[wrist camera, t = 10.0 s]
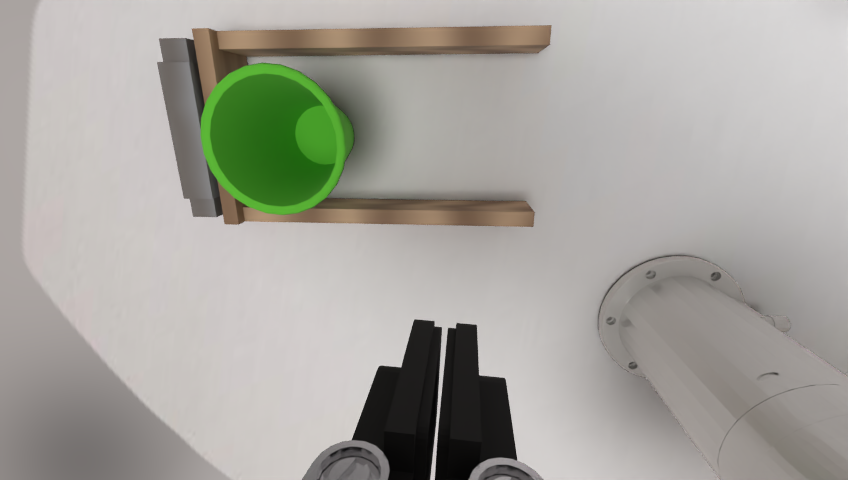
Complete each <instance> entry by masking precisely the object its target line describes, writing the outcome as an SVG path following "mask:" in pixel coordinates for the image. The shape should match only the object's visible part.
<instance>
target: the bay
mask: <svg viewBox="0 0 848 480" xmlns="http://www.w3.org/2000/svg"><path fill="white" fill-rule="evenodd" d="M192 32H193V38H194V40H190V39H187V38H165V39H159V41H160V46H161V52H162V57H163V62H157V64H158V69H159V74H160V79H161V85H162V90H163V95H164V100H165V105H166V110H167V115H168V120H169V125H170V130H171V135H172V140H173V145H174V150H175V155H176V160H177V166H178V171H179V176H180V181H181V186H182V191H183V196H184V198H186V199H190V202H191V207H192V212H193V217H218V216H220V215H222V214H223V217H224V223H225V224H241V223H243V222H244V221H259V222H311V223H364V224H416V225H468V226H520V227H533V224H534V213H535V212H534V211H533V210H532V208H531V207H530V206H529V205H528V203H527V202H526V201H472V200H404V199H336V198H325V199H324V200H323V201H321V202H320V203H319V204H317V205H316V206H315V207H313V208H311V209H308V210H306V211H303V212H301V213H296V214H288V215H277V214H268V213H264V212H261V211H258V210H256V209H253V208H250V207H248V206H247V205H245V204H243V203H242V202H240V201H239V200H237V199H235V198H234V197H233V196H232V195H231V194H230V193H229V192H228V191H227V190H225V189H224V188H223V187H222V186H221V184H220V183H219V182H218V180H217V179H216V177H215V176H214V174H213V173H212V171H211V170H210V167H209V165H208V163H207V160H206V158H205V155H204V152H203V147H202V142H201V136H200V134H201V117H202V114H203V110H204V107H205V103H206V101H207V99H208V97H209V96H210V94H211V93H212V91H213V89H214V88H215V86H216V85H217V84H218V83H219V82H220V81H221V80H222V79H223V78H225V77H226V76H227V75H228V74H229V73H231V72H233V71H235V70H237V69H239V68H241V67H243V66H246V65H248V64H247V57H254V56H336V55H418V54H500V53H539V52H540V51H542V50H543V49H544V48H546V47H547V46H549V45H550V35H551V25H547V26H488V27H430V28H371V29H313V30H254V31H214V30H212V29H209V28H200V29H192Z"/></svg>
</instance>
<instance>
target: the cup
mask: <svg viewBox="0 0 848 480" xmlns="http://www.w3.org/2000/svg"><path fill="white" fill-rule="evenodd" d="M200 136H201V142H202V147H203V152H204V155H205V158H206V160H207V163H208V165H209V167H210V170H211V171H212V173H213V174H214V176H215V177H216V179H217V180H218V182H219V183H220V184H221V186H222V187H223V188H224V189H225V190H227V191H228V192H229V193H230V194H231V195H232V196H233V197H234V198H235V199H237V200H239V201H240V202H242V203H243V204H245V205H247V206H248V207H250V208H253V209H256V210H258V211H261V212H264V213H268V214H277V215H288V214H296V213H301V212H303V211H306V210H308V209H311V208H313V207H315V206H316V205H317V204H319V203H320V202H321V201H323V200H324V199H325V198H327V197H328V195H329V194H330V193H331V191H332V190H333V189H334V188H335V186H336V185H337V183H338V181H339V178H340V176H341V174H342V171H343V169H344V163H345V160H346V159H347V157H348V156H349V154H350V152H351V150H352V147H353V143H354V131H353V128H352V125H351V122H350V121H349V119H348V117H347V116H346V115H345V114H344V113H343V112H342V111H341V110H340V109H339V108H337V107H336V106H335V105H334V104H333V103H332V101H331V99H330V98H329V96H328V95H327V94H326V93H325V92H324V91H323V90H322V89H321V88H320V87H319V86H318V85H317V83H316V82H314V81H313V80H311V79H310V78H308V77H307V76H305V75H304V74H302V73H301V72H299V71H297V70H294V69H292V68H289V67H286V66H284V65H280V64H270V63H258V64H252V65H246V66H243V67H241V68H239V69H237V70H235V71H233V72H231V73H229V74H228V75H227V76H226V77H225V78H223V79H222V80H221V81H220V82H219V83H218V84H217V85H216V86H215V88H214V89H213V91H212V93H211V94H210V96H209V97H208V99H207V101H206V103H205V107H204V110H203V114H202V117H201V134H200Z"/></svg>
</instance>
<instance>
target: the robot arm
mask: <svg viewBox="0 0 848 480" xmlns="http://www.w3.org/2000/svg"><path fill="white" fill-rule="evenodd" d="M598 321H599V333H600V337H601V341H602V343H603V345H604V347H605V349H606V350H607V352H608V353H609V354H610V356H611V357H612V359H613V360H614V361H615V362H616V363H617V364H618V365H619V366H621V367H622V368H624V369H625V370H627V371H628V372H631V373H633V374H636V375H638V376H641V377H645V378H647V379H648V381H649V382H650V383H651V385H652V386H653V388H654V389H655V390H656V392H657V393H658V394H659V396H660V397H661V399H662V400H663V401H664V403H665V404H666V406H667V407H668V408H669V410H670V411H671V412H672V414H673V415H674V417H675V418H676V419H677V421H678V422H679V424H680V425H681V426H682V428H683V429H684V430H685V432H686V433H687V435H688V436H689V437H690V439H691V440H692V442H693V443H694V444H695V446H696V447H697V448H698V450H699V451H700V453H701V454H702V455H703V457H704V458H705V460H706V461H707V462H708V464H709V465H710V466H711V468H712V469H713V471H714V472H715V473H716V475H717V476H718V478H719V479H720V480H848V376H847V375H845V374H844V373H842V372H841V371H839V370H838V369H836V368H835V367H833V366H832V365H830V364H829V363H827V362H826V361H824V360H823V359H821V358H820V357H818V356H817V355H815V354H814V353H812V352H811V351H809V350H808V349H806V348H805V347H803V346H802V345H800V344H799V343H797V342H796V341H794V340H793V339H791V338H790V337H788V336H787V335H785V334H784V333H782V332H787V331H789V329H790V321H789V319H788V318H787V317H785V316H772V315H767V316H763V315H761V314H760V313H758V312H757V311H755V310H754V309H752V308H751V307H749V306H747V305H746V304H745V300H744V297H743V294H742V292H741V289H740V287H739V286H738V284H737V283H736V282H735V280H734V279H733V278H732V277H731V276H730V275H729V274H728V273H726V272H725V271H724V270H722V269H721V268H719V267H717V266H716V265H714V264H712V263H710V262H707V261H705V260H702V259H699V258H694V257H689V256H670V257H663V258H658V259H655V260H652V261H649V262H646V263H644V264H642V265H640V266H638V267H636V268H634V269H632V270H631V271H629V272H628V273H627V274H625V275H624V276H622V277H621V278H620V279H619V280H618V281H617V282H616V283H615V284H614V285H613V287H612V288H611V290H610V291H609V292H608V294H607V295H606V297H605V299H604V301H603V304H602V306H601V309H600V314H599V319H598ZM441 335H442V327H434V321H426V320H414V322H413V326H412V330H411V333H410V337H409V341H408V344H407V348H406V352H405V356H404V359H403V363H402V367H401V368H399V367H389V366H379V368H378V370H377V372H376V375H375V378H374V381H373V383H372V386H371V389H370V392H369V394H368V397H367V400H366V403H365V405H364V408H363V411H362V413H361V416H360V419H359V422H358V424H357V427H356V430H355V433H354V435H353V438H352V440H351V441H344V442H340V443H338V444H335V445H333V446H330V447H329V448H328V449H326V450H325V451H323V452H322V453H321V454H320V455H319V456H318V457H317V458H316V459H315V461H314V462H313V463H312V465H311V466H310V468H309V469H308V471H307V473H306V474H305V476H304V477H303V479H302V480H430V475H431V465H432V456H433V446H434V437H435V428H436V417H437V402H438V385H439V368H440V351H441ZM435 480H543V479H542V478H541V476H540V475H539V474H538V473H537V472H536V471H535V470H533V469H532V468H530V467H529V466H527V465H526V464H524V463H521V462H519V461H517V455H516V448H515V441H514V434H513V427H512V421H511V414H510V407H509V400H508V393H507V386H506V380H505V378H499V377H489V376H479V367H478V343H477V325H471V324H460V323H457V324H456V329H455V328H448V335H447V345H446V356H445V366H444V376H443V387H442V397H441V408H440V418H439V429H438V441H437V456H436V472H435Z"/></svg>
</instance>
